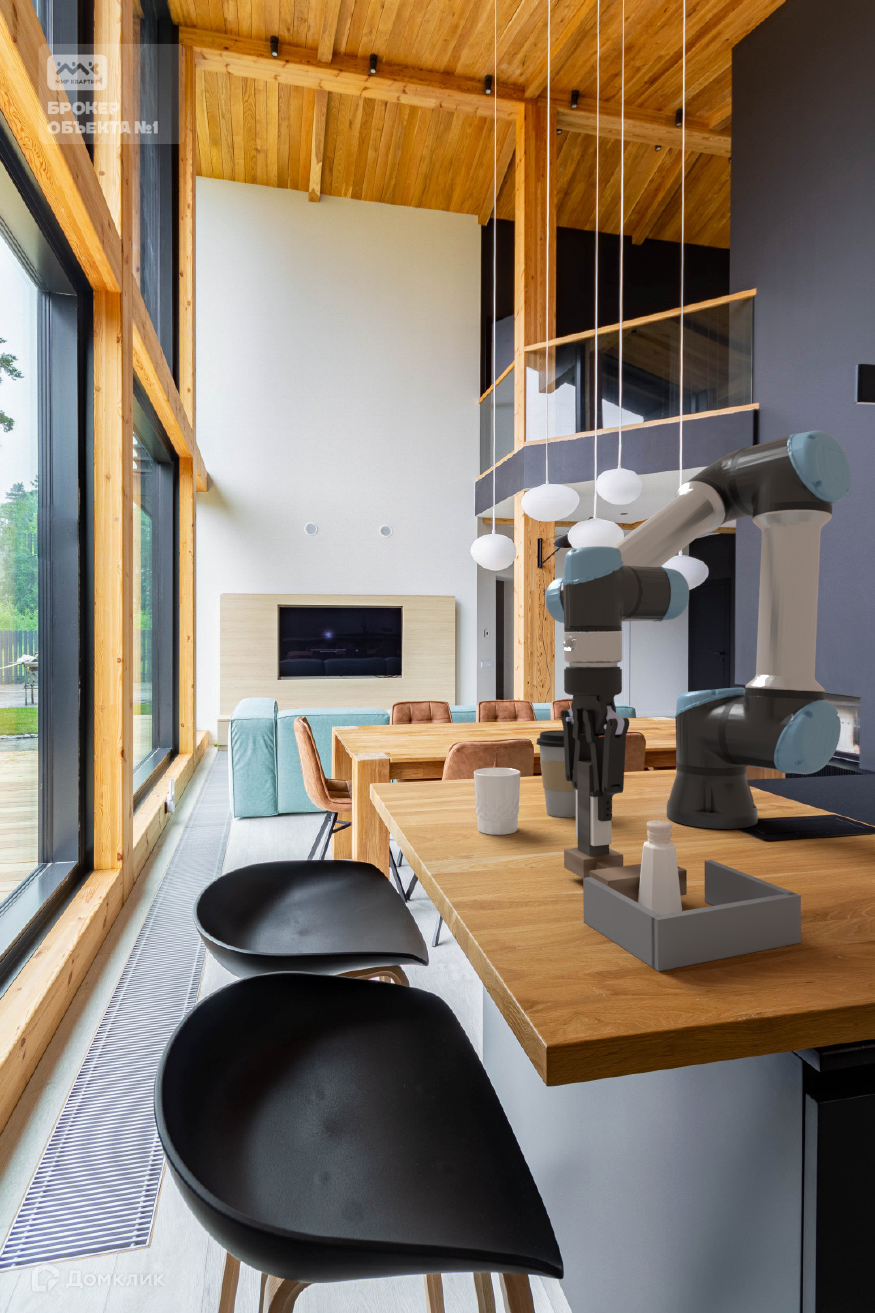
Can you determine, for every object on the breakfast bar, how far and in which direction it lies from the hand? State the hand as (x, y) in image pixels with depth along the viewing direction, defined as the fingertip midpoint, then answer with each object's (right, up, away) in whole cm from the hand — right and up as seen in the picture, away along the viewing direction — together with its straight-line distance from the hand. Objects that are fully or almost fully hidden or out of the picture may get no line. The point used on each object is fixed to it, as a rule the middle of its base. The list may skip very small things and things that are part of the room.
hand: (593, 840), depth 97 cm
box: (+7, -6, -17) cm, 19 cm away
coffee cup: (+2, -5, +38) cm, 38 cm away
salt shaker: (+5, -6, -13) cm, 15 cm away
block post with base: (+2, -4, -4) cm, 6 cm away
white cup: (-11, -5, +27) cm, 29 cm away
